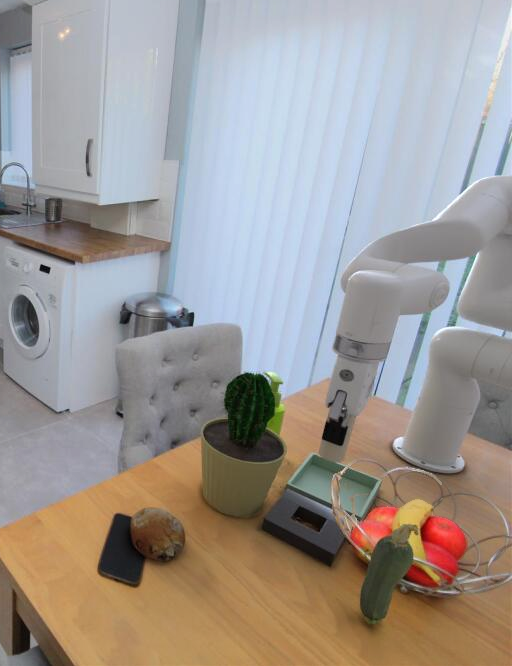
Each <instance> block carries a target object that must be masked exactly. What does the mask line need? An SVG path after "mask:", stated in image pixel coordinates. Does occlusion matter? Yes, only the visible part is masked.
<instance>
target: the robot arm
mask: <svg viewBox="0 0 512 666" xmlns="http://www.w3.org/2000/svg"><path fill="white" fill-rule="evenodd" d="M473 256H475V258H474V261H473V263H472V266H471V269H470V271H469V273H468V276H467V278H466V280H465V283H464V286H463V287H462V290H461V292H460V295H459V298H458V300H457V304H456V313H457V315H458V316H459V317H460V318H461V319H463V320H465V321H468V322H471V323H475V324H477V325H482V326H485V327H489V328H492V329H498V330H500V331H505V332H509V333H512V175H505V174H504V175H491V176H486V177H483V178H481V179H478V180H476V181H474V182H473V183H471V185H469V186H468V187H467V188H466V189H465V190H464V191H462V192H461V193H460V194H459V195H458V196H457V197H456V198H455V199H454V200H453V201H452V202H451V203H449V204H448V205H447V206H446V207H445V208H444V209H443V210H442V211H441V212H440V213H438V214H437V216H435V217H434V218H433V219H432V220H430V221H426V222H421V223H418V224H414V225H411V226H407V227H405V228H402V229H398V230H396V231H393V232H389V233H386V234H384V235H382V236H380V237H377V238H376V239H374V240H373V241H371V242H370V243H368V245H366V246H365V247H364V248H363V249H361V251H360V252H358V254H357V255H355V256H354V257H353V258H352V260H351V261H350V262H349V263H348V264H347V265H346V267H345V268H344V270H343V272H342V274H341V277H340V288H341V290H342V292H343V293H344V297H343V301H342V305H341V309H340V314H339V317H338V322H337V326H336V330H335V334H334V338H333V342H332V347H331V350H332V352H333V353H335V354H336V355H337V356H336V360H335V363H334V365H333V370H332V373H331V376H330V381H329V383H328V387H327V392H326V395H325V396H326V397H325V402H324V405H325V407H326V408H327V409H329V408H330V411H329V410H328V412H329V414H328V413H327V416H328V417H327V416H326V420H325V422H324V427H323V431H322V435H321V440H322V439H323V440H325V441H327V442H330V443H333V444H336V445H338V446H342V445H343V444H344V440H345V436H346V433H347V429H348V426H346V425H347V422H348V418H349V415H353V416H354V417H355V416H356V417H358V416H360V415H361V413H362V412H363V411H364V409H365V408H366V406H367V405H368V404H369V402H370V401H371V399H372V395H373V392H374V388H375V384H376V379H377V375H378V371H379V367H380V363H383V362H385V361H386V360H387V358H388V356H389V353H390V352H389V351H390V348H391V345H392V343H393V342H392V341H393V338H394V335H395V331H396V327H397V324H398V322H399V317H400V316H414V315H415V316H416V315H423V314H426V313H430V312H433V311H434V310H436V309H437V308H439V307H440V306H442V304H444V303H445V301H446V300H447V298H448V297H449V293H450V289H451V285H450V284H451V283H450V281H449V279H448V277H447V276H446V275H445V274H444V273H442V272H440V271H438V270H436V269H432V268H429V267H424V266H418V265H412V264H418V263H419V264H420V263H437V262H439V263H440V262H448V261H449V262H450V261H456V260H457V261H458V260H463V259H466V258H467V259H468V258H470V257H473ZM424 373H425V374H424V376H423V381H422V383H421V386H420V389H419V393H418V396H417V399H416V402H415V404H414V407H413V410H412V413H411V416H410V419H409V421H408V425H407V428H406V431H405V433H404V436H400V437H397V438H395V439H394V440H393V443H392V449H393V451H394V453H395V454H396V455H398V457H400V458H401V459H402V460H404V461H406V462H407V463H409V464H411V465H413V466H416V467H417V468H420V469H423V470H427V471H430V472H434V473H440V474H457V473H461V471H463V469H465V468H464V467H465V466H466V463H465V459H464V458H463V457H462V456H461V454H460V451H461V448H462V445H463V444H464V441H465V438H466V436H467V433H468V432H469V429H470V426H471V424H472V421H473V418H474V415H475V414H476V411H477V408H478V406H479V404H480V400H481V389H480V386H479V384H478V382H477V380H478V381H481V382H484V383H487V384H490V385H494V386H496V387H500V388H503V389H507V390H510V391H512V338H508V337H505V336H504V337H503V336H500V335H497V334H494V333H491V332H486V331H482V330H478V329H474V328H469V327H466V326H447V327H443V328H441V329H439V330H437V331H436V332H435V333H434V334H433V335H432V337H431V339H430V341H429V345H428V352H427V363H426V370H425V372H424ZM343 406H344V407H346V408H347V409H344V408H343ZM341 413H343V414H345V415H344V418H343V417H342V416H340V414H341Z"/></svg>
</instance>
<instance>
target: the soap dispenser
mask: <svg viewBox="0 0 512 666" xmlns="http://www.w3.org/2000/svg"><path fill="white" fill-rule="evenodd" d="M263 372H264V373H263V375H264V374H266V375H265V376H268V377H267V378H268V380H270V382H271V383H270V384H271V386H270V387H271V389H272V392H276V394H275V393H273V394H275V395H274V396H276V397H275V399H276V400H275V403H277V404H275V414H276V415H274V417H272V418H271V419H270V421H271V422H270V421H268V423H267V424H268V425H269V427H268V426H267V428H269V429H271V430H272V431H274V432H275V433H277V434H278V435H279V436H280V435H281V430H282V426H283V421H284V416H285V412H286V406H285V405H284V404H283V403H282V402H281V400H282V395H283V393H282V391H280V390H279V389H280V385H283V384H284V381H283V380H282V378H281V377H280V376H279V375H278V374H277V373H275V372H273V371H263ZM272 382H273V384H272ZM274 382H275V383H274ZM272 387H273V388H272ZM274 389H277V390H274ZM277 395H278V396H277ZM279 403H281V404H279ZM276 407H277V408H276ZM276 410H277V411H276ZM276 412H277V413H276ZM272 421H273V422H274V423H273V422H272Z"/></svg>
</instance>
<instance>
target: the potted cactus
mask: <svg viewBox="0 0 512 666" xmlns="http://www.w3.org/2000/svg"><path fill="white" fill-rule="evenodd" d="M264 372H265V371H263V373H261V371H260V370H259V371H258V372H256V373H254V372H249V371H244V372H243V373H241V372H238V374H237V375H236V376H235V375H233V377H232V376H231V375H229V376H230V378H231V379H230V381H226V382H227V383H226V387H225V389H222V390H223V392H220V394H223V395H222V397H223V400H222V401H221V400H219V401H220V404H222V406H223V408H221V409H222V410H221V412H222V413H223V414H224V411H226V416H224V417H217V418H213V419H210V420H208V421H206V422H205V423H204V424H203V425H202V426H201V430H200V444H201V445H200V450H201V451H200V452H201V485H202V486H201V488H202V496H203V497H204V499H205V501H206V503H208V504H209V505H210V507H212V508H213V509H215V510H216V511H218V512H220V513H222V514H224V515H227V516H230V517H235V518H250V517H253V516H255V515H257V514H258V513H260V511H261V510H262V507H263V505H264V503H265V500H266V499H267V496H268V494H269V492H270V491H271V488H272V485H273V483H274V481H275V479H276V476H277V474H278V472H279V470H280V468H281V466H282V464H283V461H284V459H285V457H286V455H287V453H288V445H287V444H286V442H285V440H284V439H283V437H282V436H280V435H278V434H277V433H275V432H274V431H272V430H271V429H269V428H267V426H268V427H269V425H268V424H267V423H268V421H270V419H271V418H272V417H274V415H276V414H275V404H277V403H275V400H276V399H275V397H276V396H274V395H275V394H276V392H272V389H271V387H270V386H271V380H270V379H268V378H269V377H268V376H267V375H266V374H264ZM227 379H228V380H229V378H228V377H226V380H227ZM274 383H275V382H274ZM272 384H273V382H272ZM272 388H273V387H272ZM274 390H277V389H274ZM273 393H275V394H273ZM277 396H278V395H277ZM281 403H282V402H280V403H279V404H281ZM276 408H277V407H276ZM276 411H277V410H276ZM276 413H277V412H276ZM270 422H271V421H270ZM272 422H273V421H272ZM273 423H274V422H273Z"/></svg>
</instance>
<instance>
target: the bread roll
mask: <svg viewBox="0 0 512 666" xmlns="http://www.w3.org/2000/svg"><path fill="white" fill-rule="evenodd" d="M129 527H130V530H129V531H130V537H131V542H132V545H133V547H134V548H135V549H136V550H137V551H138V553H140V554H141V555H142V556H144V557H145V558H147V559H151V560H156V561H159V562H168V561H171V560H172V559H174V558H175V557H177V556H179V555H180V553H181V552H182V551H183V549H185V544H186V533H185V527H184V525H183V523H182V522H181V521H180V519H179V518H178V517H176V516H175V515H174V514H172V513H171V512H169V511H168V510H165V509H163V508H159V507H154V506H145V507H144V508H141V509H140V510H139V511H137V512H136V513H135V514H134V515H133V516H132V517H131V519H130V524H129Z"/></svg>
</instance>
